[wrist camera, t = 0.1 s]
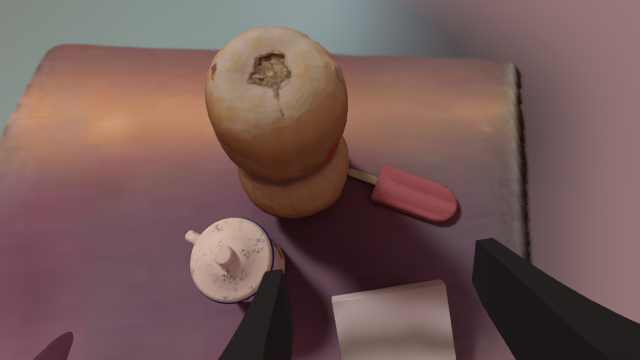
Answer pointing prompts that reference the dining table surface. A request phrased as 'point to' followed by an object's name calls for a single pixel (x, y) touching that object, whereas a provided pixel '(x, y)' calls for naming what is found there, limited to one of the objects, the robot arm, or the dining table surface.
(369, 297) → the beige flat square block
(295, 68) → the butternut squash
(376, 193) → the popsicle
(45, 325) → the dining table surface
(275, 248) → the teacup with lid
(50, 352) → the mauve lumpy shape
